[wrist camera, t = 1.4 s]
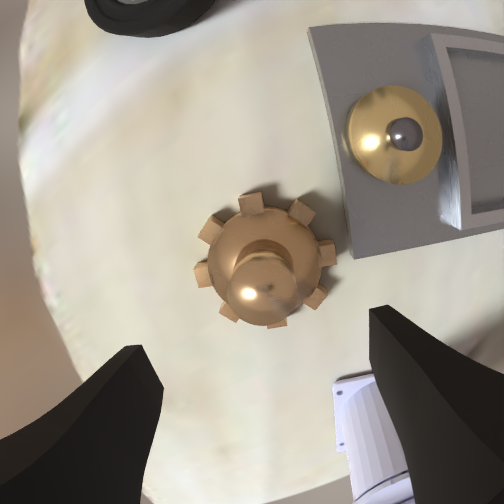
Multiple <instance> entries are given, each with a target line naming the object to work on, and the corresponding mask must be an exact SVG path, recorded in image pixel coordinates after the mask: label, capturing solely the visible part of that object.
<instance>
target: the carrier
mask: <svg viewBox="0 0 504 504" xmlns="http://www.w3.org/2000/svg"><path fill="white" fill-rule="evenodd" d="M307 34H308V38H309V41H310V45H311V48H312V52H313V56H314V60H315V63H316V67H317V71H318V75H319V79H320V83H321V87H322V92H323V96H324V100H325V105H326V109H327V114H328V118H329V123H330V128H331V133H332V138H333V143H334V148H335V154H336V159H337V165H338V171H339V177H340V183H341V189H342V195H343V202H344V209H345V216H346V224H347V231H348V240H349V248H350V254H351V256H352V257H353V259H359V258H365V257H370V256H375V255H380V254H385V253H390V252H395V251H400V250H405V249H410V248H415V247H420V246H425V245H430V244H435V243H440V242H445V241H449V240H454V239H459V238H463V237H468V236H473V235H477V234H482V233H486V232H491V231H495V230H500V229H504V37H503V36H499V35H494V34H489V33H484V32H478V31H472V30H466V29H459V28H451V27H442V26H432V25H419V24H397V23H363V24H341V25H327V26H316V27H309V29H308V32H307Z"/></svg>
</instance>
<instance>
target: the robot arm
mask: <svg viewBox="0 0 504 504" xmlns="http://www.w3.org/2000/svg"><path fill="white" fill-rule="evenodd" d="M369 360H370V364H371V367H372V371H373V374H368V375H364V376H359V377H354V378H349V379H344V380H339V381H336V382H335V383H334V384H333V386H332V388H333V400H334V414H335V429H336V446H337V452H340V453H341V452H346V454H347V460H348V466H349V473H350V479H351V486H352V493H353V499H354V503H352V504H504V374H502V373H500V372H497V371H495V370H492V369H490V368H488V367H486V366H484V365H482V364H480V363H478V362H476V361H474V360H472V359H470V358H468V357H466V356H464V355H462V354H461V353H459V352H457V351H456V350H454V349H452V348H451V347H449V346H447V345H446V344H444V343H443V342H441V341H439V340H438V339H436V338H435V337H433V336H432V335H430V334H429V333H427V332H426V331H424V330H423V329H421V328H420V327H419V326H417V325H416V324H414V323H413V322H412V321H410V320H409V319H407V318H406V317H405V316H403V315H402V314H401V313H399V312H398V311H396V310H395V309H394V308H392V307H391V306H389V305H384V306H380V307H376V308H371V309H369ZM163 391H164V387H163V385H162V383H161V381H160V380H159V378H158V376H157V374H156V372H155V370H154V368H153V366H152V364H151V363H150V361H149V359H148V357H147V355H146V353H145V351H144V349H143V347H142V345H130V346H125V347H124V348H123V349H121V350H120V351H119V352H117V353H116V354H115V355H114V356H113V357H112V358H111V359H109V360H108V361H107V362H106V363H105V364H104V365H103V366H102V367H101V368H99V369H98V370H97V371H96V372H95V373H94V374H93V375H92V376H91V377H90V378H88V379H87V380H86V381H85V382H84V383H83V384H82V385H81V386H79V387H78V388H77V389H76V390H75V391H74V392H72V393H71V394H70V395H69V396H68V397H67V398H65V399H64V400H63V401H62V402H61V403H59V404H58V405H57V406H55V407H54V408H53V409H52V410H50V411H49V412H47V413H46V414H44V415H43V416H41V417H40V418H39V419H37V420H35V421H34V422H32V423H31V424H29V425H27V426H25V427H24V428H22V429H20V430H18V431H17V432H15V433H13V434H11V435H9V436H7V437H5V438H3V439H1V440H0V504H140V498H141V490H142V483H143V476H144V471H145V467H146V463H147V460H148V456H149V452H150V449H151V445H152V442H153V438H154V435H155V431H156V428H157V424H158V421H159V417H160V413H161V407H162V400H163ZM338 391H340V392H338Z"/></svg>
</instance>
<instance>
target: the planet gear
mask: <svg viewBox="0 0 504 504" xmlns="http://www.w3.org/2000/svg"><path fill="white" fill-rule="evenodd" d="M238 201H239V205H240V210H241V212H239V213H237V214H236V215H234V216H232V217H231V218H230V219H228V220H227V221H226V222H225V223H224V222H222V221H221V220H219V219H217V218H216V217H214V216H213V215H211V217H210V218H209V219H208V220H207V222H206V224H205V225H204V227H203V229H202V230H201V232H200V233H199V235H198V238H200V239H202V240H203V241H205V242H206V243H208V244H210V245H211V246H210V249H209V253H208V261H205V262H199V263H197V264H196V266H195V267H194V269H193V270H194V273H195V276H196V280H197V283H198V286H199V288H202V287H208V286H213V287H214V289H215V290H216V292H217V293H218V295H219V296H220V297H221V298H222V299H223V300H224V302H223V303H222V305H221V308H220V311H219V313H220V314H222V315H223V316H225V317H227V318H228V319H230V320H232V321H234V322H235V323H236V322H237V321H238V319H239V318H240V319H242V320H243V321H245V322H247V323H250V324H253V325H259V326H266V325H267V329H270V328H276V327H283V326H287V316H289V314H290V313H291V312H292V311H293V310H295V309H296V308H298V307H299V306H301V305H302V304H303V303H304V304H306V305H307V306H309V307H311V308H312V309H314V310H316V309H317V308H318V306H319V305H320V304H321V303H322V302H323V300H324V299H325V298H326V297H327V296H328V295H327V291H326V288H325V287H323V286H322V285H320V284H319V280H320V277H321V272H322V267H325V266H331V265H336V264H337V260H336V252H335V245H334V242H333V241H332V239H327V240H322V241H317V240H316V238H315V236H314V234H313V232H312V231H311V230H310V228H309V227H308V225H309V224H310V222H311V221H312V219H313V218H314V217H315V215H316V213H315V212H314V210H312V209H311V208H309V207H308V206H307V205H305V204H304V203H302V202H301V201H299V200H298V199H295V201H294V202H293V204H292V205H291V207H290V208H289V209H288V211H286V210H284V209H280V208H276V207H269V206H264V202H263V197H262V192H256V193H251V194H246V195H241V196H239V198H238Z"/></svg>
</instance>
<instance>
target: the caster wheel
mask: <svg viewBox="0 0 504 504" xmlns="http://www.w3.org/2000/svg"><path fill="white" fill-rule="evenodd" d="M84 1H85V6H86V9H87V12H88V15H89V16H90V18H91V19H92V20H93V22H94V23H95V24H96V25H97V26H98V27H99V28H101V29H103V30H104V31H106V32H109V33H112V34H117V35H125V36H134V37H145V38H151V37H161V36H164V35H168V34H171V33H174V32H176V31H178V30H181V29H183V28H184V27H186V26H188V25H190V24H191V23H192V22H194V21H195V20H197V19H198V18H199V17H200V16H201V15H202V14H203V13H205V12H206V11H207V10H208V9H209V7H210V6H211V5H212V4H213V3H214V1H215V0H84Z"/></svg>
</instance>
